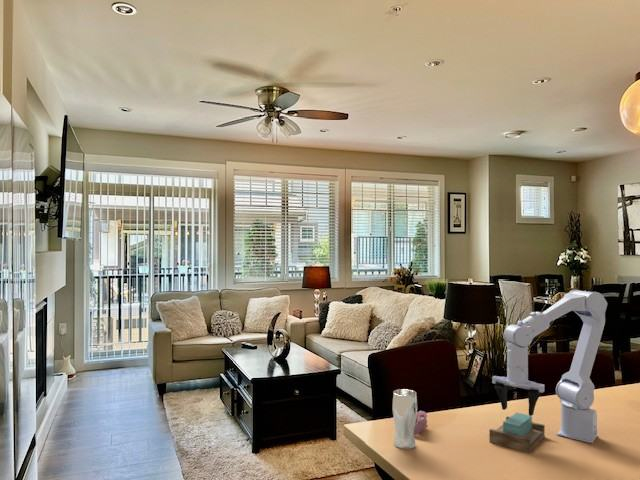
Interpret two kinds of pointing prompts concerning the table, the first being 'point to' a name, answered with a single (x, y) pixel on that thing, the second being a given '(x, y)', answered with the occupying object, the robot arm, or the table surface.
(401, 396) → the beer glass
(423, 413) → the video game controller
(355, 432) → the table surface
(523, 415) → the teal rectangular block
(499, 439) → the display stand
